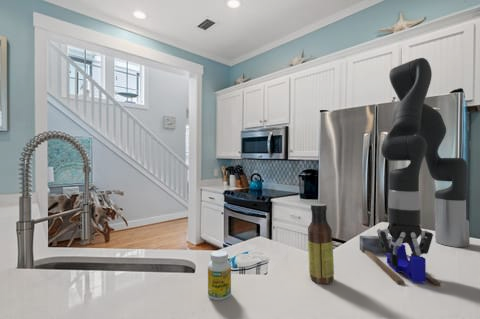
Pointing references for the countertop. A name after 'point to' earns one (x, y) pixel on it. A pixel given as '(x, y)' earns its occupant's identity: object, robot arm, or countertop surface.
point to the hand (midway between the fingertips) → (404, 267)
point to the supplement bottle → (219, 276)
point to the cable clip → (410, 265)
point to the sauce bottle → (320, 246)
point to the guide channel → (374, 246)
